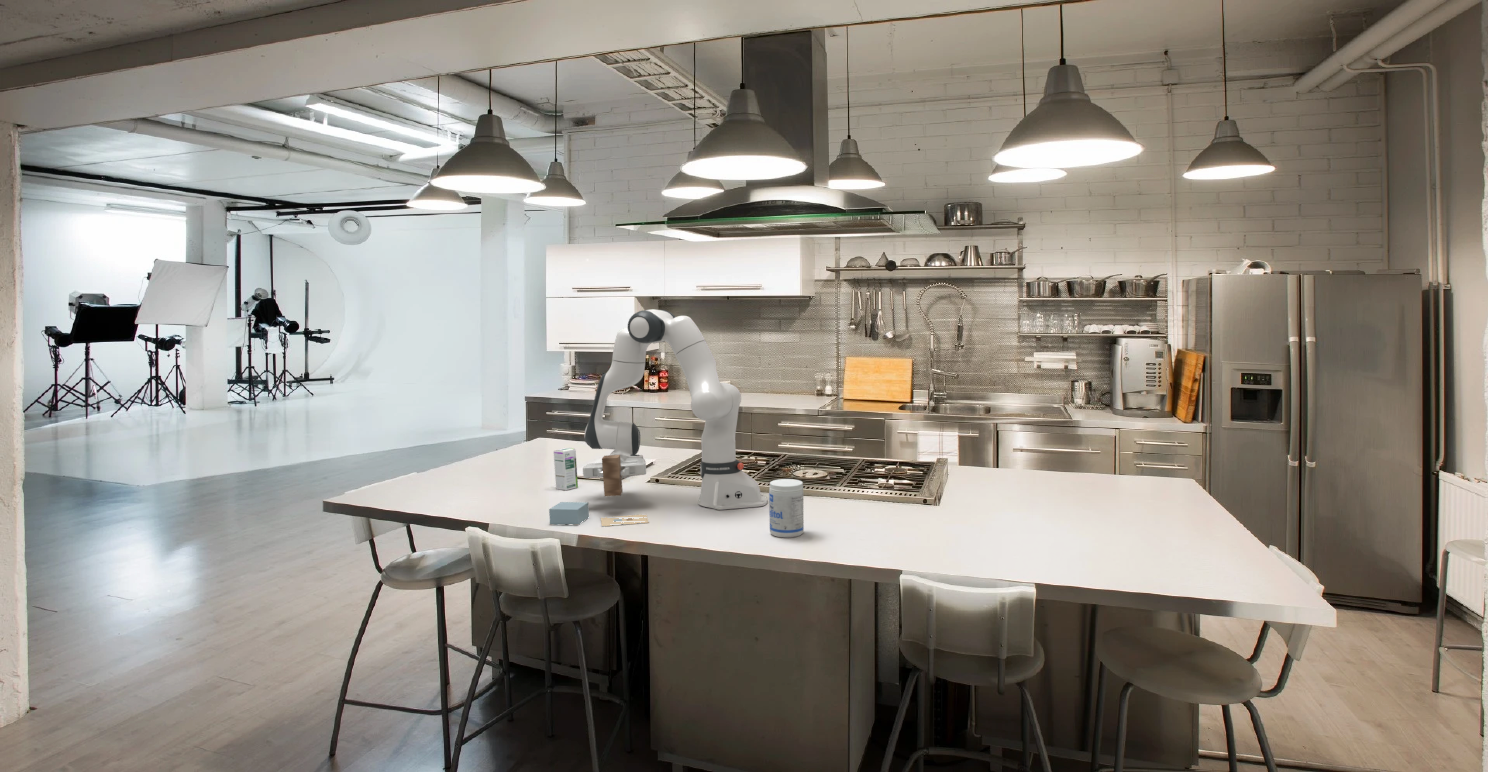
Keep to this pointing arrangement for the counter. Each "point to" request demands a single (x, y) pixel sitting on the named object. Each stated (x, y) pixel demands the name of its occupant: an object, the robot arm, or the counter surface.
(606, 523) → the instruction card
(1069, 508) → the counter surface
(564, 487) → the syrup box
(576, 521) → the brick
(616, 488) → the block
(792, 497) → the supplement tub
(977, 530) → the counter surface
